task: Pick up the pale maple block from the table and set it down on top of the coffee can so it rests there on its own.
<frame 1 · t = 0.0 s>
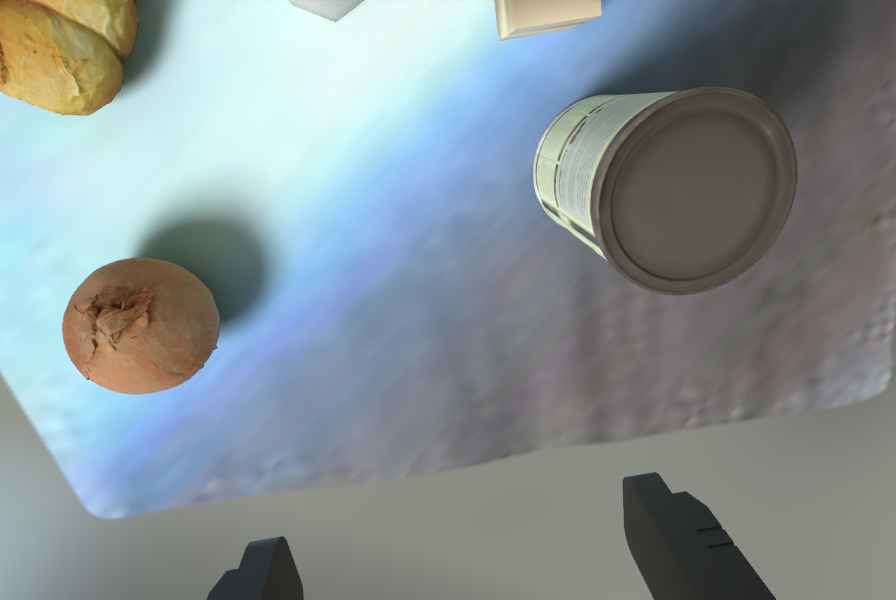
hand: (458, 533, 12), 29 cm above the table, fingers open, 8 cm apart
onion: (173, 302, 40), on the table
bread roll: (81, 12, 33), on the table
coffee can: (597, 166, 39), on the table
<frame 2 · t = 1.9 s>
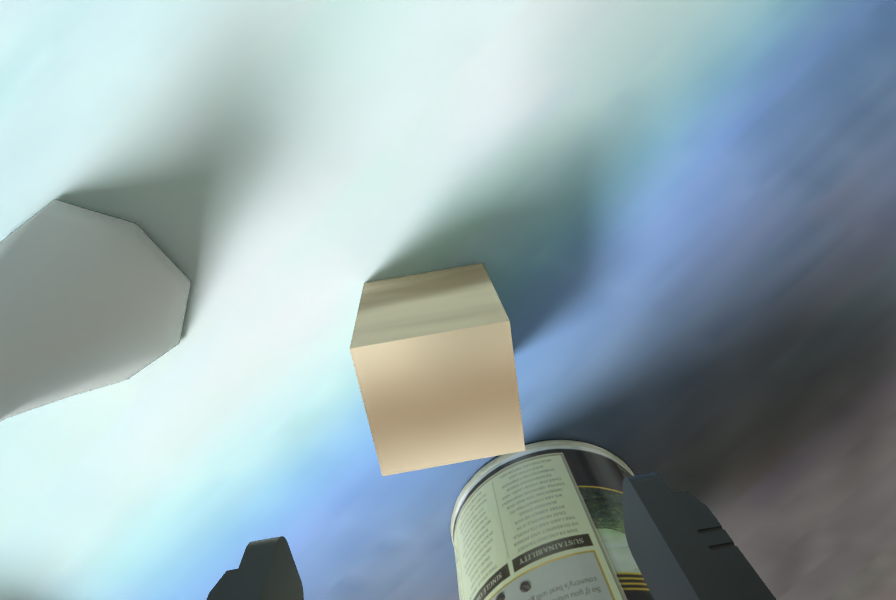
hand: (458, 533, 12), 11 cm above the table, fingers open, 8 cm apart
maple block: (433, 326, 22), on the table
coffee can: (545, 515, 27), on the table
flask: (100, 291, 21), on the table
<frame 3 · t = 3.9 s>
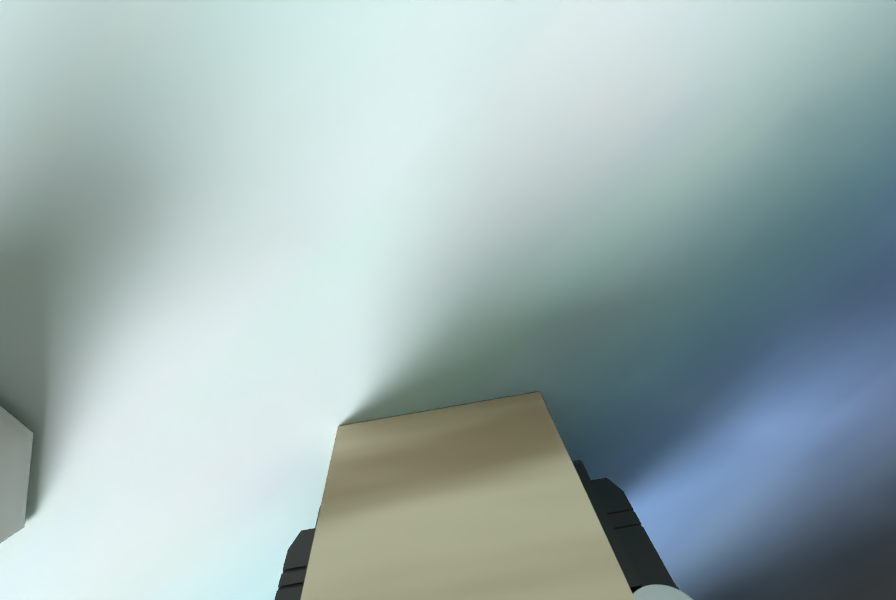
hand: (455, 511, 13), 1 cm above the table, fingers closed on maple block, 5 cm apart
maple block: (454, 489, 13), on the table, touching gripper
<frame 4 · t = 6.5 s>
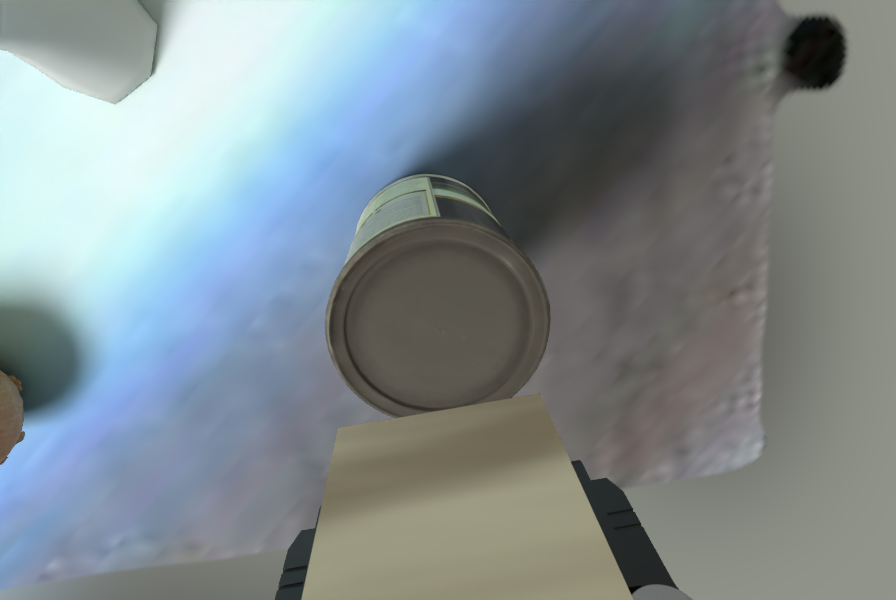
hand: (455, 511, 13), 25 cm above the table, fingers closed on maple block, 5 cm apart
maple block: (454, 490, 13), point 24 cm above the table, touching gripper
coffee can: (426, 245, 36), on the table
flask: (95, 34, 30), on the table
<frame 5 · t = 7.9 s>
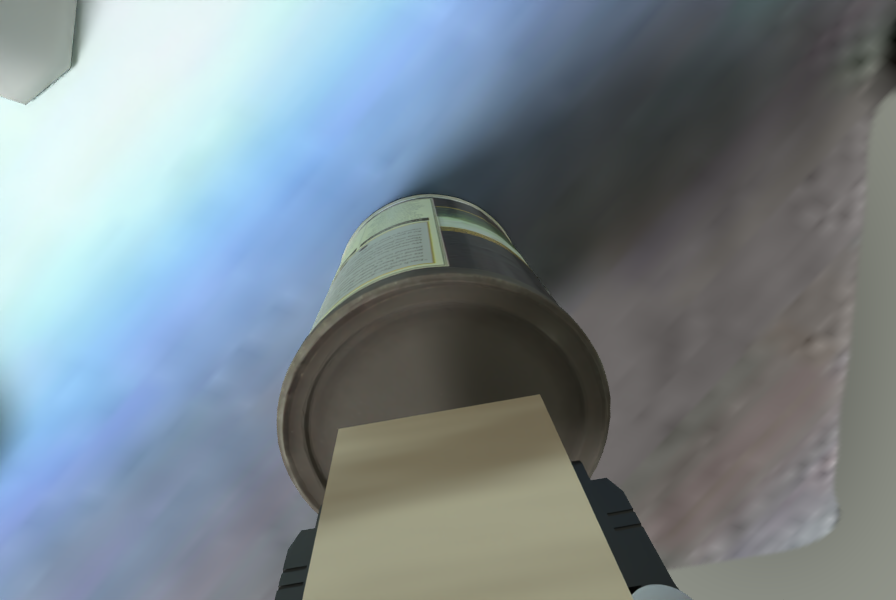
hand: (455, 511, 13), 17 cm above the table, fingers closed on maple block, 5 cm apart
maple block: (454, 491, 13), point 16 cm above the table, touching gripper
coffee can: (429, 282, 29), on the table
when the fingers open (16 cm above the table, at t = 9.1 s): maple block stays where it is, resting on coffee can.
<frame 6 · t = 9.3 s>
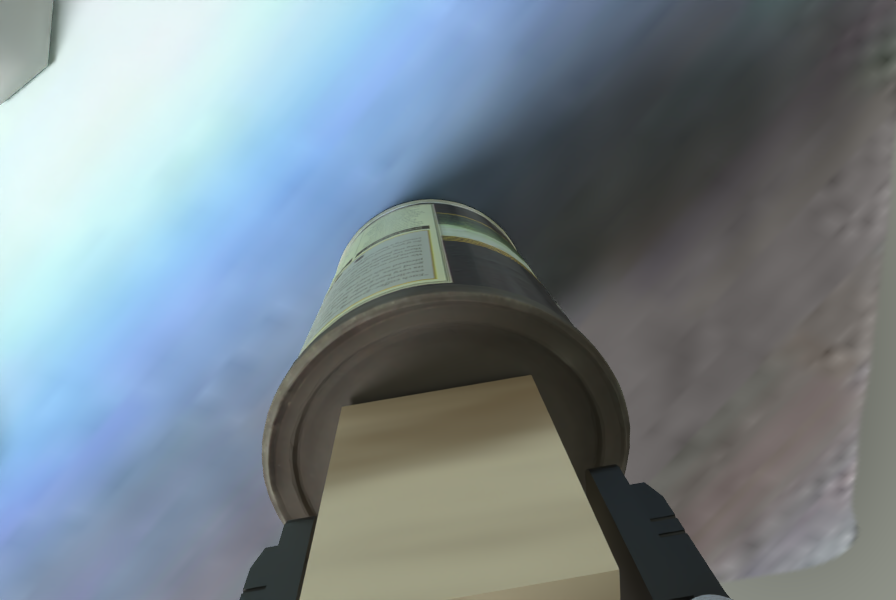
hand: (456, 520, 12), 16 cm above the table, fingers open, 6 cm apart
maple block: (450, 467, 14), point 14 cm above the table, touching coffee can
coffee can: (430, 291, 28), on the table, touching maple block
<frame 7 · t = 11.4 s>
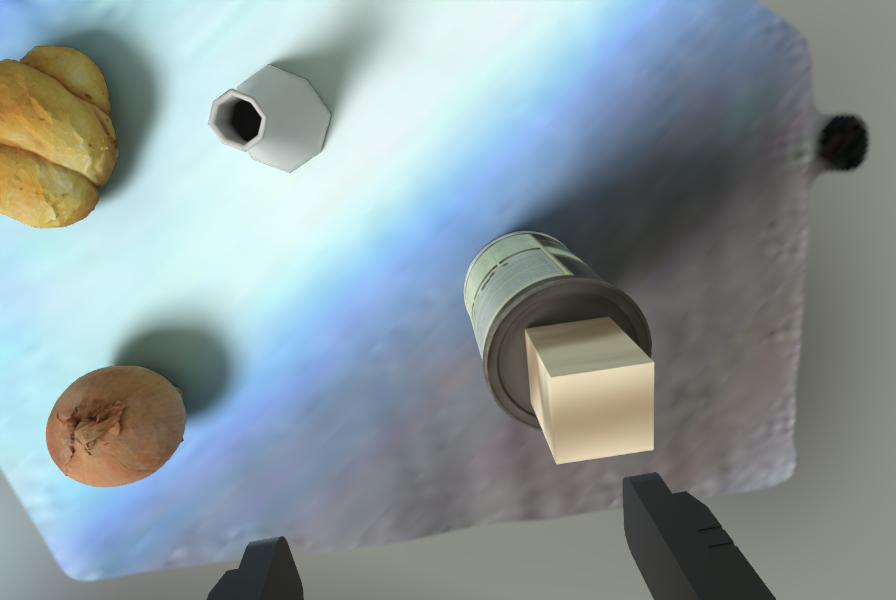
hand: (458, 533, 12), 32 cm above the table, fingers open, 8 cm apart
onion: (147, 396, 45), on the table
bread roll: (70, 138, 38), on the table
maple block: (568, 360, 31), point 14 cm above the table, touching coffee can
coffee can: (521, 287, 44), on the table, touching maple block
flask: (281, 120, 39), on the table
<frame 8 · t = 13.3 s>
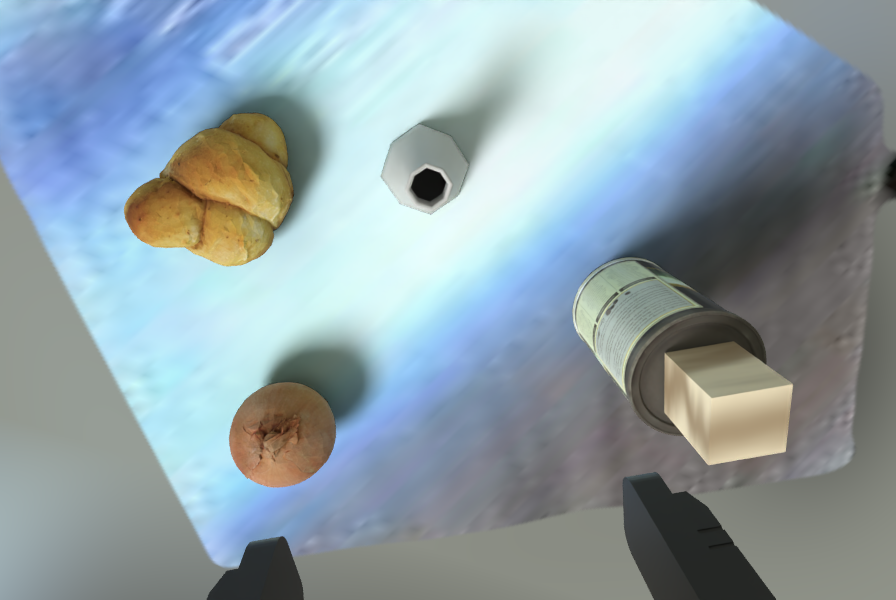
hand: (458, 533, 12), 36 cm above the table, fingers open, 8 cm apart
onion: (294, 406, 52), on the table
bread roll: (244, 186, 44), on the table
maple block: (698, 377, 37), point 14 cm above the table, touching coffee can
coffee can: (621, 305, 50), on the table, touching maple block
flask: (424, 169, 44), on the table
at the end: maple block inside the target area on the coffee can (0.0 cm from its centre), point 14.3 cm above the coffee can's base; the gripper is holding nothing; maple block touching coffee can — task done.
